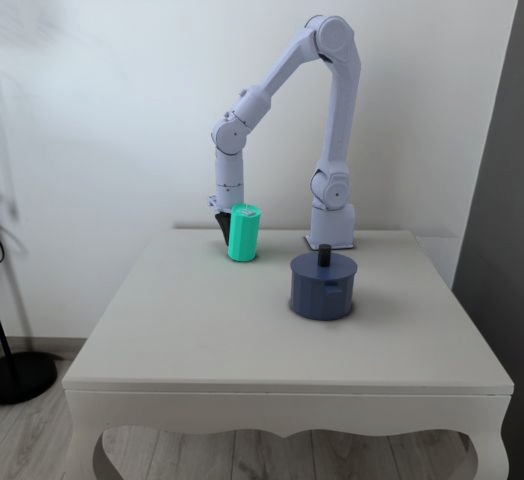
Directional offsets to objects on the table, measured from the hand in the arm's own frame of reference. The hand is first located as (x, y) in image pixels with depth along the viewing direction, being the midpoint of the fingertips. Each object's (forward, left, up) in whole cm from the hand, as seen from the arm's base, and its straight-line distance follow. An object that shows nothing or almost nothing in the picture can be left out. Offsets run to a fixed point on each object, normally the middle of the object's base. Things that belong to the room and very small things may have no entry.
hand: (231, 245), depth 113 cm
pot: (-14, +27, -1) cm, 30 cm away
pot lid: (-14, +27, +6) cm, 31 cm away
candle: (-2, +3, -1) cm, 4 cm away
